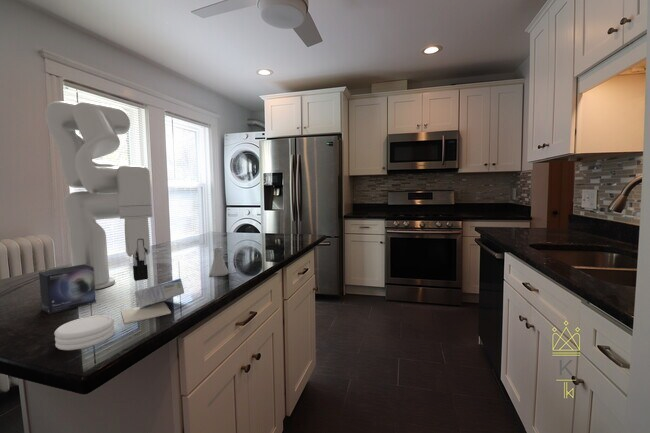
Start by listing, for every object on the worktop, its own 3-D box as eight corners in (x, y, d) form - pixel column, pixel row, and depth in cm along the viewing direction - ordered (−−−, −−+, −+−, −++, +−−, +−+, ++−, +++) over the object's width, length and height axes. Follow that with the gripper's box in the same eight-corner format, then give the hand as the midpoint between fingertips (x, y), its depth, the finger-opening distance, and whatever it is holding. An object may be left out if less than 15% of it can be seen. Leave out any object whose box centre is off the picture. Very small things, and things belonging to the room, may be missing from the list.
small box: (49, 315, 79) (46, 275, 78) (40, 310, 83) (36, 272, 82) (97, 302, 88) (94, 266, 87) (87, 298, 92) (84, 263, 91)
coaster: (92, 327, 72) (91, 312, 72) (125, 332, 69) (124, 316, 69) (43, 348, 63) (41, 331, 62) (79, 354, 60) (77, 337, 60)
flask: (225, 276, 112) (224, 249, 112) (205, 277, 112) (204, 250, 112) (231, 271, 120) (230, 246, 119) (213, 272, 120) (211, 246, 119)
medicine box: (137, 308, 81) (165, 300, 80) (133, 291, 81) (161, 283, 80) (159, 300, 89) (185, 293, 87) (155, 285, 89) (181, 277, 88)
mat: (121, 311, 81) (121, 310, 81) (164, 303, 87) (163, 301, 86) (124, 324, 73) (124, 322, 73) (170, 313, 79) (170, 311, 79)
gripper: (117, 212, 87) (122, 276, 88) (121, 214, 75) (127, 288, 76) (148, 210, 91) (152, 271, 93) (156, 212, 79) (161, 282, 81)
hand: (141, 279), depth 84 cm, fingers closed
